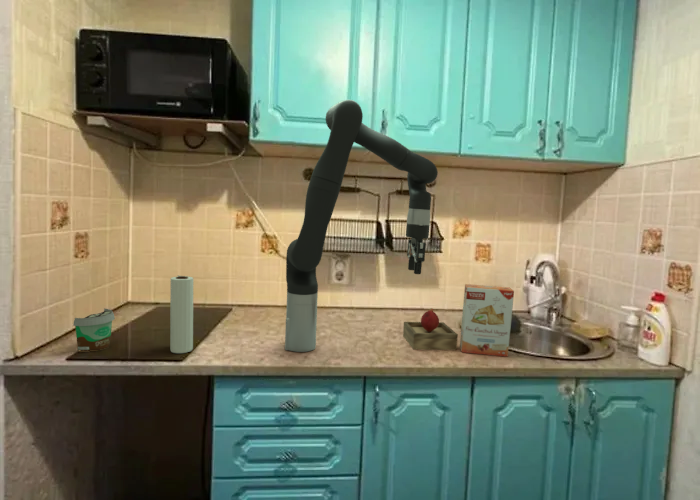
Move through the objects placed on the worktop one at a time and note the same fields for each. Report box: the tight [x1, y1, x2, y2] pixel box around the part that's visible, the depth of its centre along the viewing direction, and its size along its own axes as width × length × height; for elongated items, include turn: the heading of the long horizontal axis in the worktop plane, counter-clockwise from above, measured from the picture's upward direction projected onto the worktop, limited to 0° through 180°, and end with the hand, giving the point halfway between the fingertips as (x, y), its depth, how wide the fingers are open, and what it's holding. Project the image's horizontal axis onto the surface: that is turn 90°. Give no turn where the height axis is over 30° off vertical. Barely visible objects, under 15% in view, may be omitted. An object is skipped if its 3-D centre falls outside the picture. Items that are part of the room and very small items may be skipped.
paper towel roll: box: [169, 275, 194, 354], centre depth 124 cm, size 7×6×21 cm
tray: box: [402, 321, 458, 351], centre depth 142 cm, size 14×14×5 cm
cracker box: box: [459, 283, 515, 357], centre depth 134 cm, size 14×6×21 cm, turn 82°
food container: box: [72, 308, 116, 351], centre depth 123 cm, size 12×6×10 cm, turn 171°
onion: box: [420, 307, 440, 332], centre depth 142 cm, size 6×6×8 cm
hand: (414, 272), depth 143 cm, fingers open, 8 cm apart
